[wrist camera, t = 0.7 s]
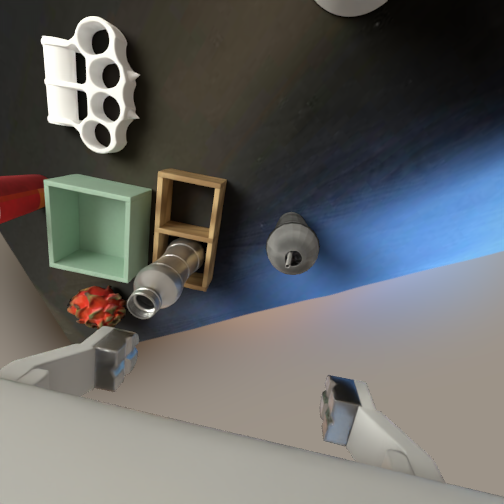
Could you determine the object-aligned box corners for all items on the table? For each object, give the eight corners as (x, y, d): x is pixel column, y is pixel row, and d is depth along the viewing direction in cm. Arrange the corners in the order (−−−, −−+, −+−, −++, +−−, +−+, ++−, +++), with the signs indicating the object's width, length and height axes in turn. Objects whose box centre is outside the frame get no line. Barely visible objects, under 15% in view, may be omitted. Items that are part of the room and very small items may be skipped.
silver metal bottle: (205, 269, 57) (167, 333, 38) (170, 262, 57) (115, 323, 38) (209, 237, 54) (169, 288, 36) (172, 230, 55) (114, 278, 36)
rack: (169, 168, 51) (158, 171, 46) (226, 179, 51) (220, 184, 46) (161, 268, 58) (151, 280, 53) (212, 279, 57) (205, 291, 53)
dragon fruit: (143, 301, 63) (93, 290, 65) (126, 282, 56) (70, 270, 58) (124, 341, 58) (71, 328, 61) (102, 326, 51) (43, 311, 54)
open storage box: (76, 173, 53) (43, 179, 46) (152, 189, 52) (130, 197, 45) (79, 250, 58) (49, 266, 51) (147, 265, 58) (127, 283, 51)
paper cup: (12, 175, 54) (-74, 187, 41) (47, 162, 53) (-30, 171, 40) (35, 216, 57) (-40, 240, 44) (69, 205, 55) (3, 226, 42)
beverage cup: (286, 252, 54) (287, 313, 35) (261, 221, 52) (248, 268, 34) (321, 228, 52) (341, 280, 33) (295, 195, 50) (301, 229, 32)
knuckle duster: (50, 15, 45) (146, 30, 44) (59, 143, 51) (143, 158, 51) (32, 6, 42) (135, 22, 41) (44, 143, 48) (134, 159, 48)
